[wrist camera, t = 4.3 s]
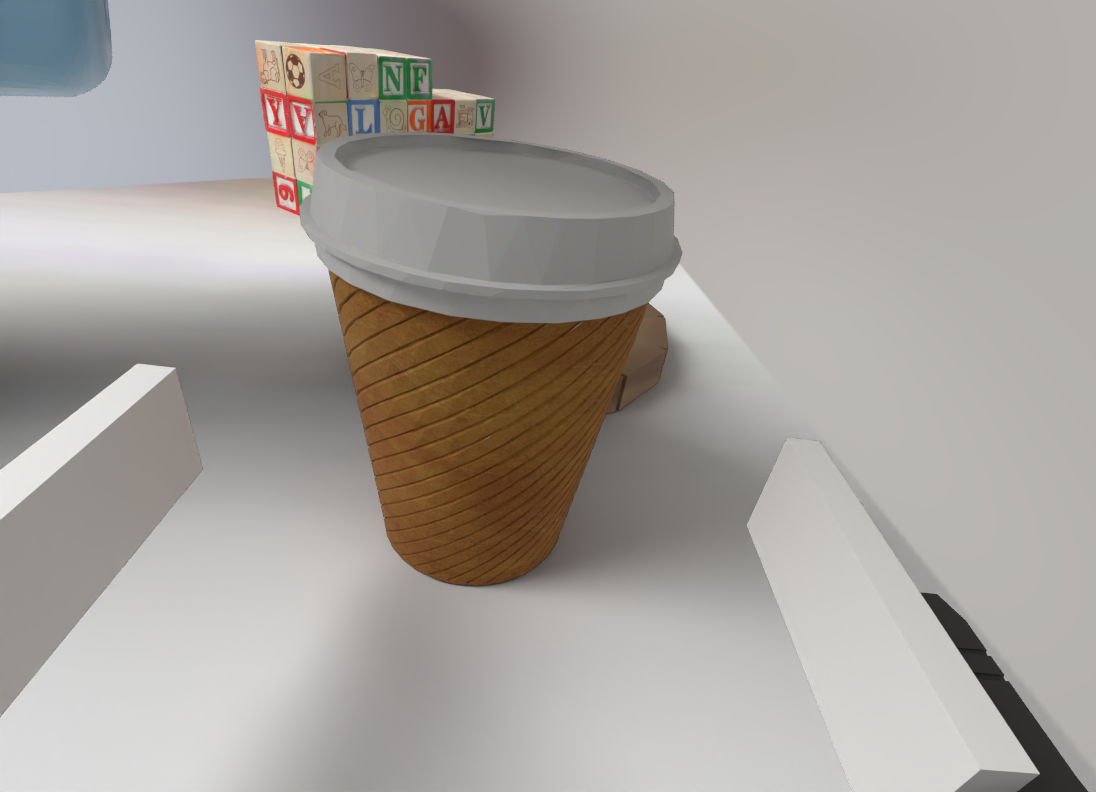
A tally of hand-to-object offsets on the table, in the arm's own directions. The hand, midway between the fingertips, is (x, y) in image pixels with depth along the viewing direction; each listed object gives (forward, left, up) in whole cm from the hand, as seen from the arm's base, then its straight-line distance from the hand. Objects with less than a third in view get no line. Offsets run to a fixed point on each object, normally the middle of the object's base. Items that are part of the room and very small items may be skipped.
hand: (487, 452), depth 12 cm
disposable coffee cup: (-3, +3, -7) cm, 9 cm away
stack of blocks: (-38, +28, -7) cm, 48 cm away
